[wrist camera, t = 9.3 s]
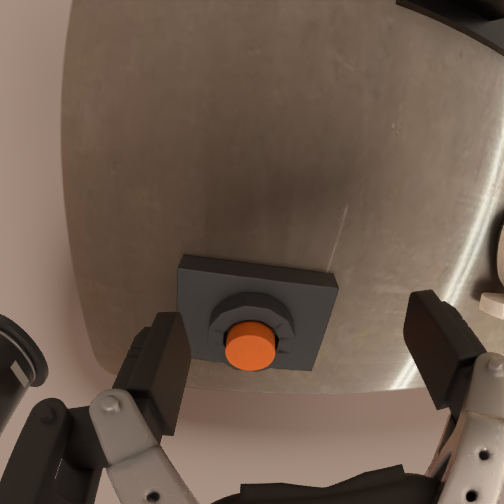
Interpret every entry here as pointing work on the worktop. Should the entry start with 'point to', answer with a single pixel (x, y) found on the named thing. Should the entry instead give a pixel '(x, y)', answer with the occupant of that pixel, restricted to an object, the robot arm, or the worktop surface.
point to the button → (250, 345)
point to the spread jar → (496, 302)
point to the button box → (254, 307)
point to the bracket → (467, 17)
